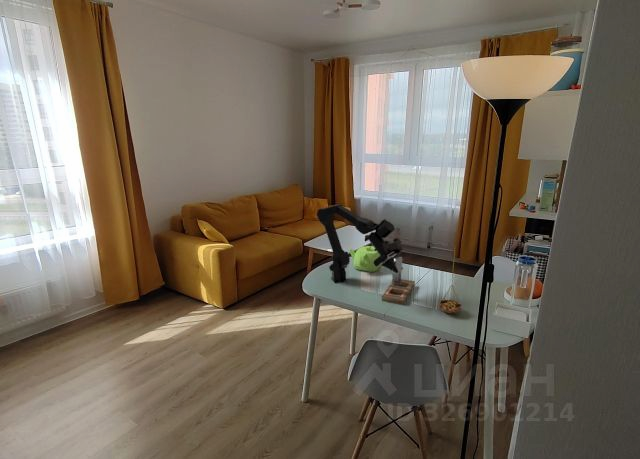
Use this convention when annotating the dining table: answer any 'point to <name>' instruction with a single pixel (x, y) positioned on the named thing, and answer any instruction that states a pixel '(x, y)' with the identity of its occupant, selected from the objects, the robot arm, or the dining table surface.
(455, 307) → the bird feeder
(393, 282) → the peg
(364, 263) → the teapot
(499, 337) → the dining table surface
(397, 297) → the brown flat block
